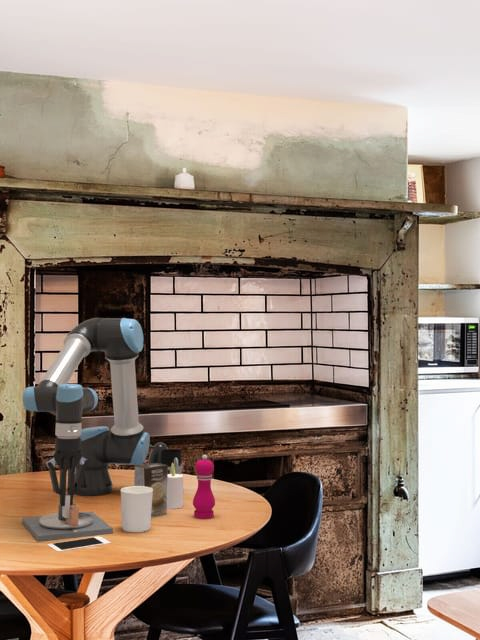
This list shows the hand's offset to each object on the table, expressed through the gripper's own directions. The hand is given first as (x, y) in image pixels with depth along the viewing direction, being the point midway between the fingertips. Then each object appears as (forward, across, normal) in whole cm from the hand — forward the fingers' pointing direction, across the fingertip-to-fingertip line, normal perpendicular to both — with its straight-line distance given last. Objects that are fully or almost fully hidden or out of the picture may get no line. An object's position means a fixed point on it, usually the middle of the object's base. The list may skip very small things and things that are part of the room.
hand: (65, 516), depth 240 cm
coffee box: (+5, +32, +10) cm, 33 cm away
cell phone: (+6, 0, -12) cm, 13 cm away
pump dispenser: (+4, +56, +55) cm, 79 cm away
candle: (+5, +43, +16) cm, 46 cm away
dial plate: (+5, +2, +6) cm, 8 cm away
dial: (+3, +2, +5) cm, 6 cm away
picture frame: (+4, +52, +34) cm, 62 cm away
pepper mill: (+4, +46, 0) cm, 46 cm away
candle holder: (+5, +21, -4) cm, 22 cm away
